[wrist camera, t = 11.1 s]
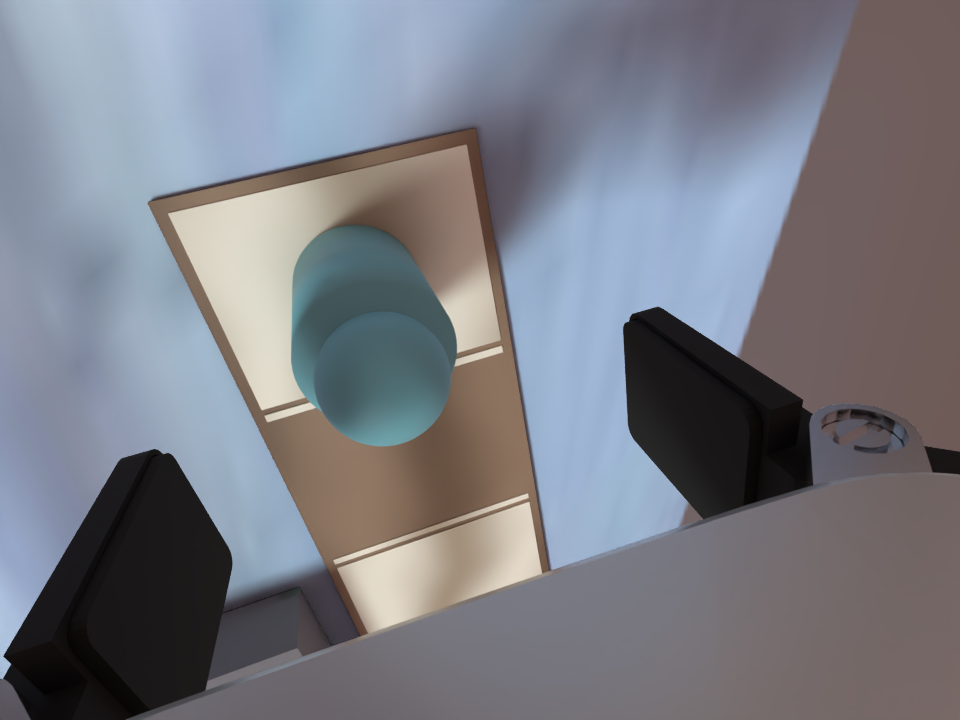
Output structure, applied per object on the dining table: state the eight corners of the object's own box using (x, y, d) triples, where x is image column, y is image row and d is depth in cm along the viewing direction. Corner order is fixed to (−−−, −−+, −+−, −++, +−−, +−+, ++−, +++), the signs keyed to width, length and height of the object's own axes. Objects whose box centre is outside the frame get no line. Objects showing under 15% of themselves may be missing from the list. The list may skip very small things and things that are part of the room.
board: (410, 736, 31) (411, 741, 31) (149, 201, 15) (146, 203, 15) (565, 673, 33) (566, 677, 33) (474, 128, 17) (476, 128, 17)
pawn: (303, 349, 18) (308, 509, 12) (281, 229, 16) (270, 342, 10) (422, 333, 19) (487, 471, 13) (415, 219, 17) (488, 313, 11)
